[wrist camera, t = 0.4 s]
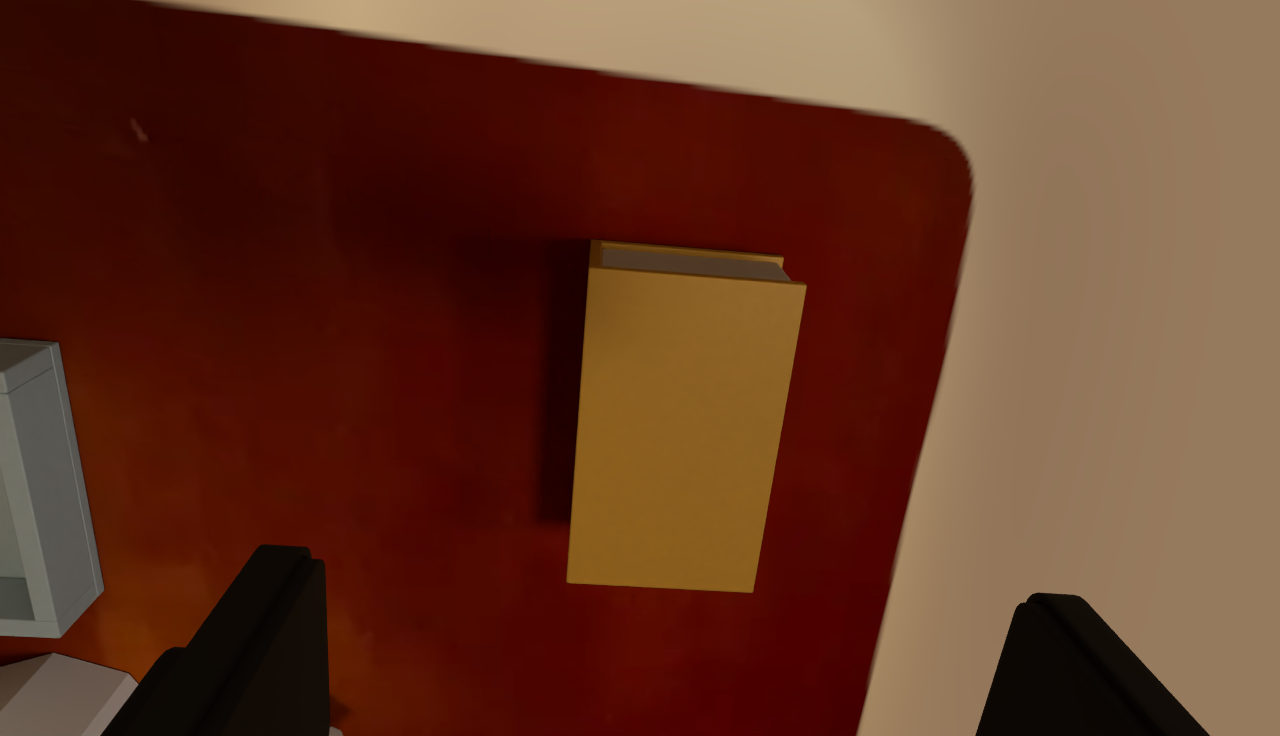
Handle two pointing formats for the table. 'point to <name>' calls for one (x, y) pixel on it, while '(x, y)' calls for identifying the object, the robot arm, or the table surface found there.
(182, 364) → the table surface
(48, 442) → the tray
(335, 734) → the bird
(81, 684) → the mug
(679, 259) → the book
